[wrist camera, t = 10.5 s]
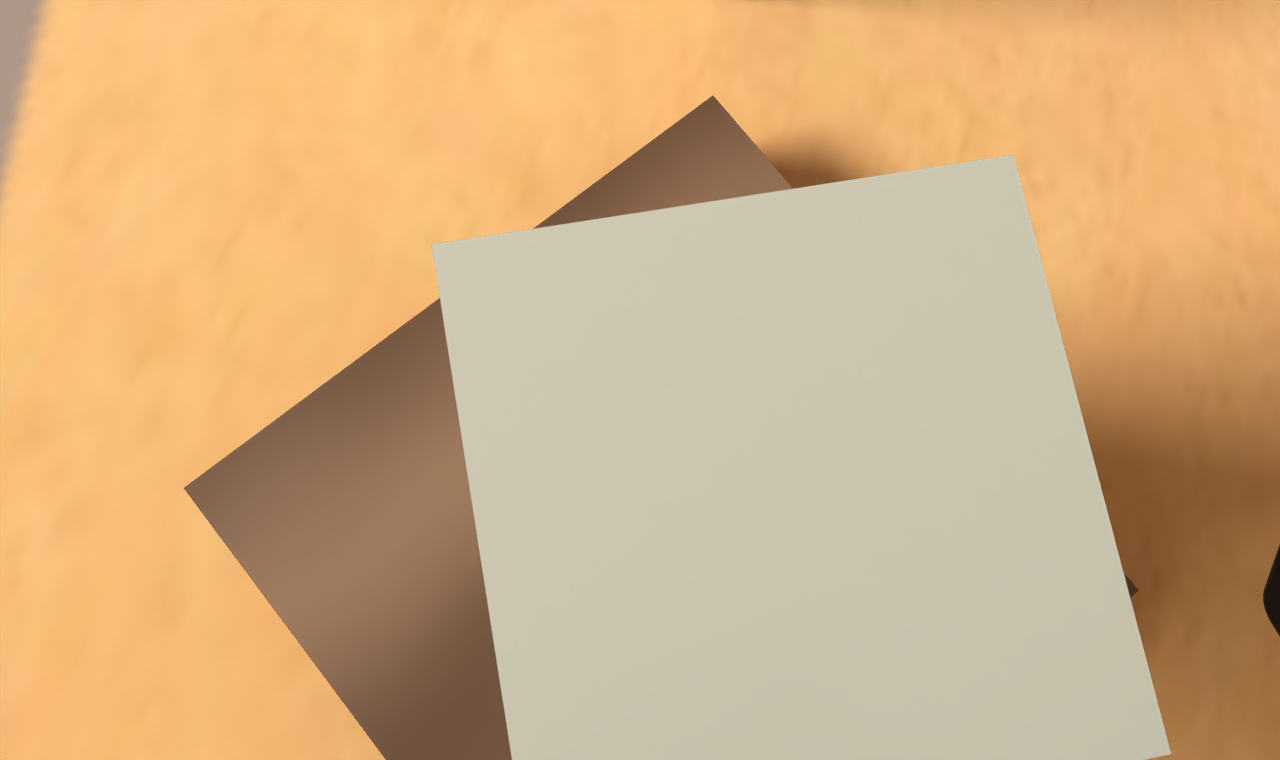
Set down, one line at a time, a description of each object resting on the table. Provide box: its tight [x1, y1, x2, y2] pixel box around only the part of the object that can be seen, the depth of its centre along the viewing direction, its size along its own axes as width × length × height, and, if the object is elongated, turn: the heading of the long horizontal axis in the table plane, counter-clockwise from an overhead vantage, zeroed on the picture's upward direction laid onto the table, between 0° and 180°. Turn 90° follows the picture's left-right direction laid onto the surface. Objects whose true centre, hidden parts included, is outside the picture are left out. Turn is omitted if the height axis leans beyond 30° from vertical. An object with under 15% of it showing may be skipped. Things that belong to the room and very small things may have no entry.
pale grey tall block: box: [432, 155, 1171, 760], centre depth 13 cm, size 5×5×10 cm
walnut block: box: [184, 96, 1138, 760], centre depth 20 cm, size 12×12×4 cm
